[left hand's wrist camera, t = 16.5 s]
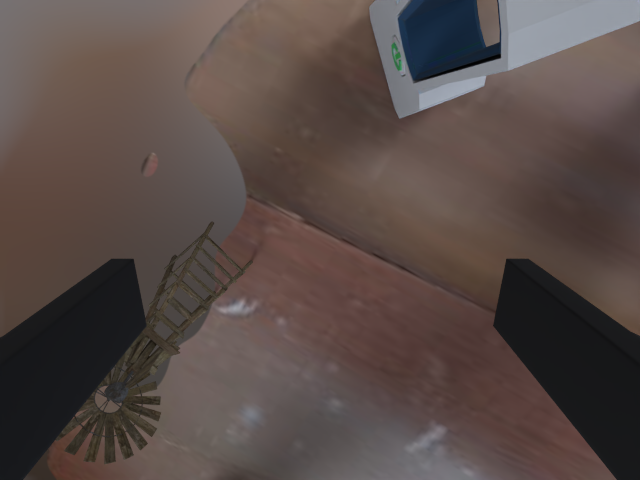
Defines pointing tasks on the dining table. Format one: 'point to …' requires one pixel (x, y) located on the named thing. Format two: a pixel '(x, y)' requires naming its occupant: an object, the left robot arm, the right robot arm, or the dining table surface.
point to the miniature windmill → (144, 365)
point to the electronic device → (478, 41)
